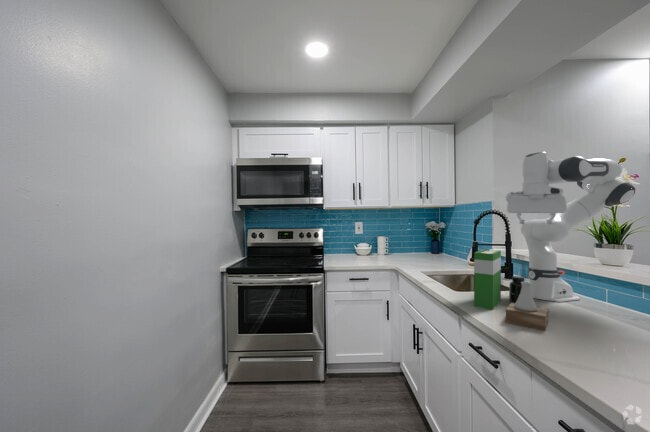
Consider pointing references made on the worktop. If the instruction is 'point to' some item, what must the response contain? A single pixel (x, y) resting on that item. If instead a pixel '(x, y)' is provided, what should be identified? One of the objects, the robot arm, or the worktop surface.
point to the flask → (525, 298)
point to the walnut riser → (528, 317)
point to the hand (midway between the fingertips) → (535, 224)
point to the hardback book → (487, 279)
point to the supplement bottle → (515, 288)
